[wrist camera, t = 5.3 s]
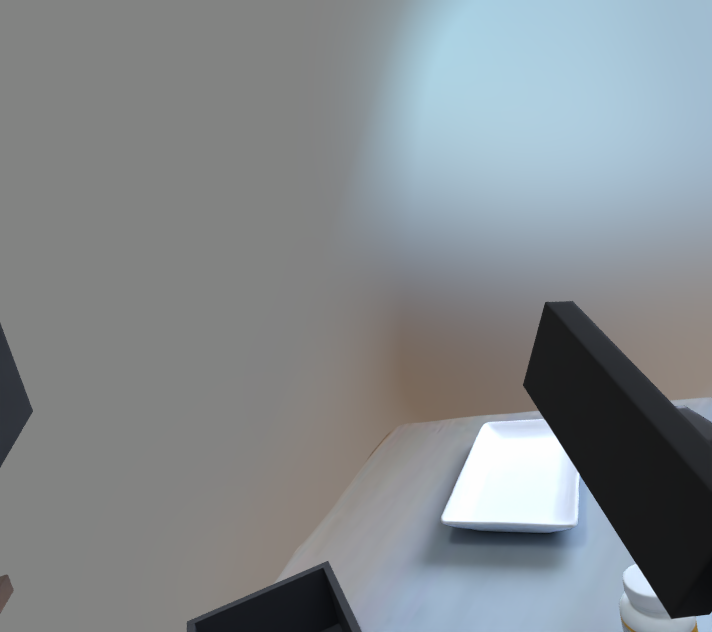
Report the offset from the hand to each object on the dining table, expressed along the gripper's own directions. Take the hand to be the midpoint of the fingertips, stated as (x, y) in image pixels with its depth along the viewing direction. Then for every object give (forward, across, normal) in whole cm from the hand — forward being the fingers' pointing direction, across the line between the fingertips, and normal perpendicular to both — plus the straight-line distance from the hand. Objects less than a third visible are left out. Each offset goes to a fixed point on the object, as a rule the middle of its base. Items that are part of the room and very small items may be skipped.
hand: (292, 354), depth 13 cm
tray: (+39, -34, +53) cm, 74 cm away
